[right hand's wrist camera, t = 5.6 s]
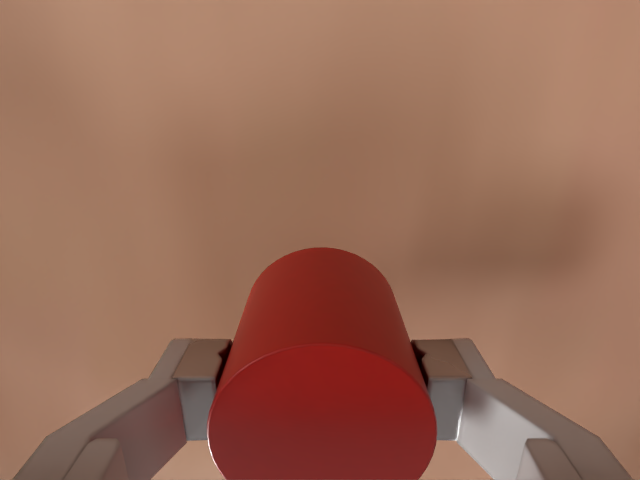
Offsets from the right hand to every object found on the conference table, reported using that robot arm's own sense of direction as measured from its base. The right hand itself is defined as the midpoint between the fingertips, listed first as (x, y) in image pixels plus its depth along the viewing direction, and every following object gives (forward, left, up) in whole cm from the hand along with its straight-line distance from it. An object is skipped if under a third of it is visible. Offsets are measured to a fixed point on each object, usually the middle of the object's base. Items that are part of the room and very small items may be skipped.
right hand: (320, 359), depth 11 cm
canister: (0, 0, -2) cm, 2 cm away
